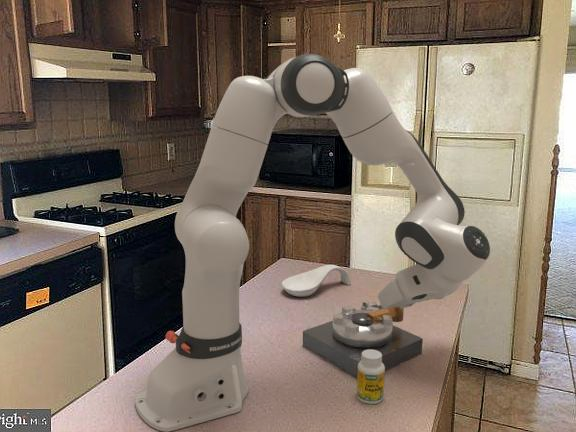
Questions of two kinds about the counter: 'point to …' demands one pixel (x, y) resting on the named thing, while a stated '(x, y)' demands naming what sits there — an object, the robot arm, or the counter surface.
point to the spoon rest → (311, 280)
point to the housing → (360, 348)
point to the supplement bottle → (370, 377)
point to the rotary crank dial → (365, 325)
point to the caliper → (366, 304)
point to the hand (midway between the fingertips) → (404, 304)
